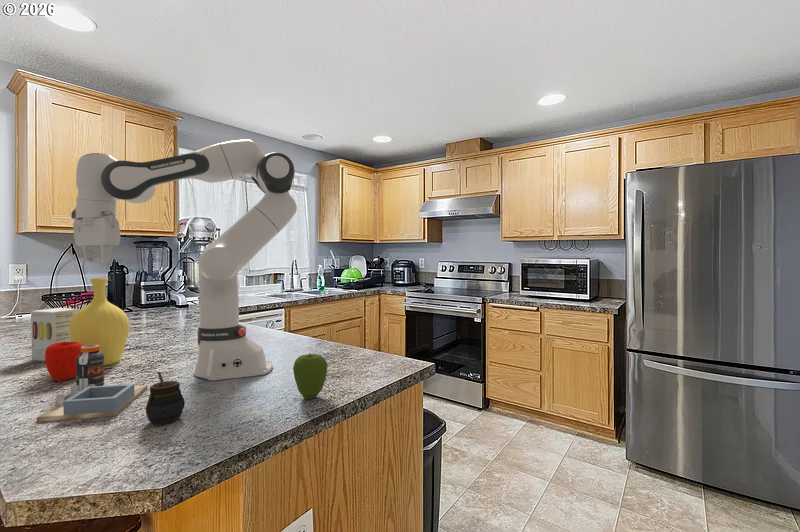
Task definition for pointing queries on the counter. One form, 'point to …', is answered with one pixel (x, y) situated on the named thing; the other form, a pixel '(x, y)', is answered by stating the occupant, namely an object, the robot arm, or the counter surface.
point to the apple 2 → (310, 374)
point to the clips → (73, 391)
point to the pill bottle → (90, 367)
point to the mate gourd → (164, 402)
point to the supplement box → (49, 329)
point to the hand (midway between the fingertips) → (97, 262)
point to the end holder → (99, 399)
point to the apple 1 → (62, 360)
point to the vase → (101, 325)
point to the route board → (58, 413)
